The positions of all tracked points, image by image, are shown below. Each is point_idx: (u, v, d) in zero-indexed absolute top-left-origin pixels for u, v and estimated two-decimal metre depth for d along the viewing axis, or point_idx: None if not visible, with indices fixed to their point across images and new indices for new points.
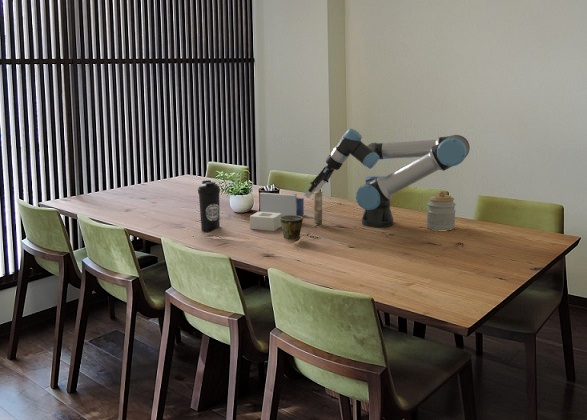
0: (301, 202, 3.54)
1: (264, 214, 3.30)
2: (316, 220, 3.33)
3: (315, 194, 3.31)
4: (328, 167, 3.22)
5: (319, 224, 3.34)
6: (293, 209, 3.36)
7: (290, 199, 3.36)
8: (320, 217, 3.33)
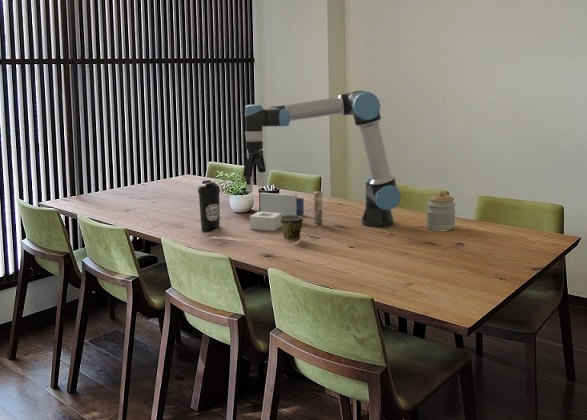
0: (301, 202, 3.54)
1: (264, 214, 3.30)
2: (316, 220, 3.33)
3: (315, 194, 3.31)
4: (250, 151, 3.05)
5: (319, 224, 3.34)
6: (293, 209, 3.36)
7: (290, 199, 3.36)
8: (320, 217, 3.33)
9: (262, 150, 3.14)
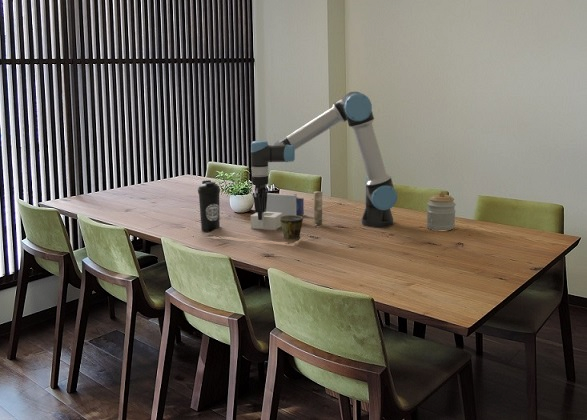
0: (301, 202, 3.54)
1: (265, 213, 3.31)
2: (316, 220, 3.33)
3: (315, 194, 3.31)
4: (256, 186, 3.14)
5: (319, 224, 3.34)
6: (293, 209, 3.36)
7: (290, 199, 3.36)
8: (320, 217, 3.33)
9: (267, 188, 3.23)
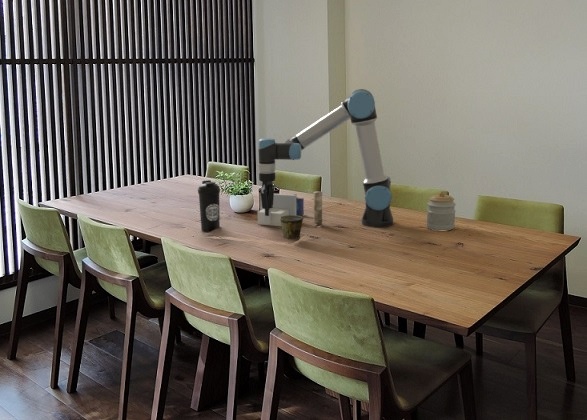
0: (301, 202, 3.54)
1: (271, 210, 3.38)
2: (316, 220, 3.33)
3: (315, 194, 3.31)
4: (264, 183, 3.22)
5: (319, 224, 3.34)
6: (293, 209, 3.36)
7: (290, 199, 3.36)
8: (320, 217, 3.33)
9: (274, 185, 3.31)
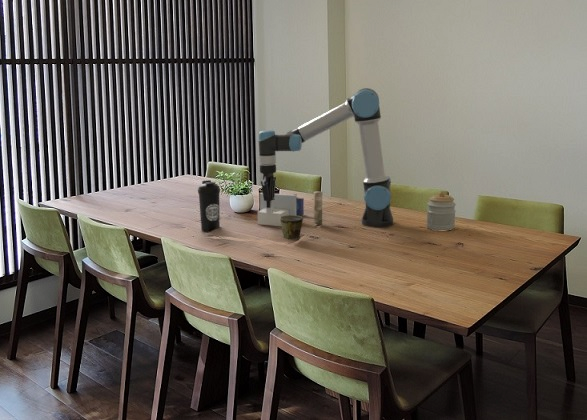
0: (301, 202, 3.54)
1: None
2: (316, 220, 3.33)
3: (315, 194, 3.31)
4: (264, 175, 3.22)
5: (319, 224, 3.34)
6: (293, 209, 3.36)
7: (290, 199, 3.36)
8: (320, 217, 3.33)
9: (275, 177, 3.31)
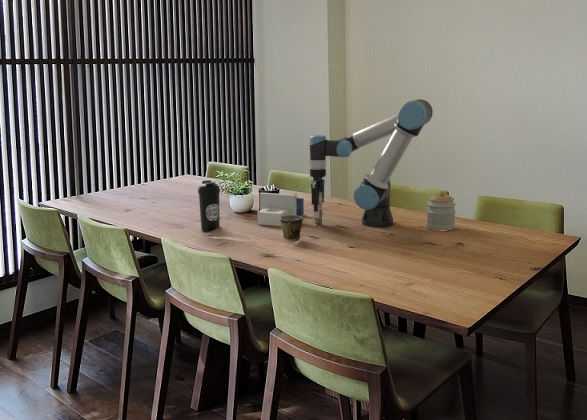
0: (301, 202, 3.54)
1: (271, 210, 3.38)
2: (316, 220, 3.33)
3: None
4: (315, 179, 3.27)
5: (319, 224, 3.34)
6: (293, 209, 3.36)
7: (290, 199, 3.36)
8: (320, 217, 3.33)
9: None
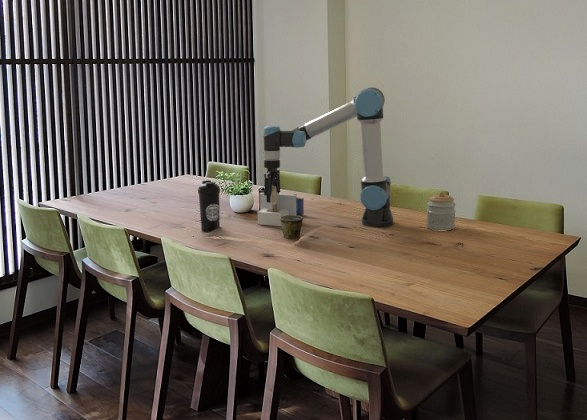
0: (301, 202, 3.54)
1: None
2: None
3: None
4: (268, 170, 3.26)
5: None
6: (293, 209, 3.36)
7: (290, 199, 3.36)
8: (275, 211, 3.33)
9: (279, 170, 3.35)
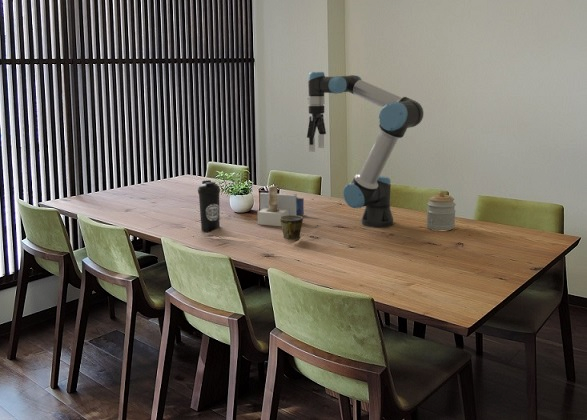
0: (301, 202, 3.54)
1: None
2: None
3: (270, 189, 3.31)
4: (313, 115, 3.31)
5: None
6: (293, 209, 3.36)
7: (290, 199, 3.36)
8: None
9: None
